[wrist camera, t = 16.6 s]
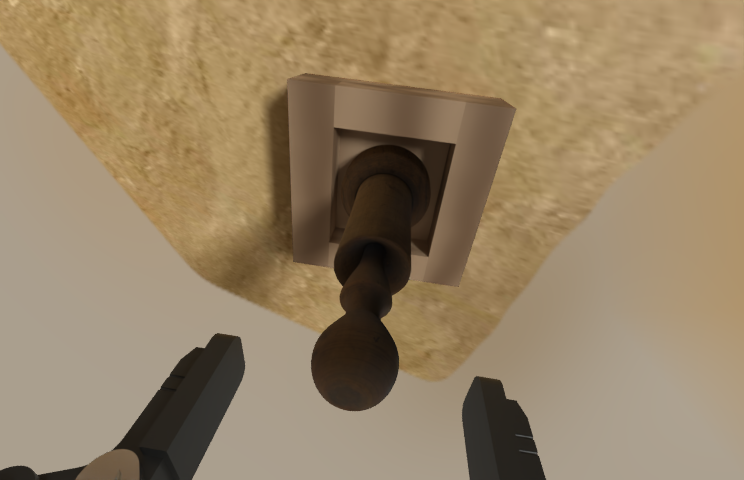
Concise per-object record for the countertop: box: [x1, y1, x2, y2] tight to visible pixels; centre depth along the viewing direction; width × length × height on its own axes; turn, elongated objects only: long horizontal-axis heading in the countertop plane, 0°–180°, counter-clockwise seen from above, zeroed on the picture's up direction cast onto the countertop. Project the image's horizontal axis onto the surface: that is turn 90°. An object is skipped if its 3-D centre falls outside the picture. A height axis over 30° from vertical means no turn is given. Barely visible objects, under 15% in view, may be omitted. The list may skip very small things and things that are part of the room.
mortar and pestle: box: [311, 145, 431, 411], centre depth 18 cm, size 7×6×18 cm
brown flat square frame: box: [287, 73, 516, 287], centre depth 25 cm, size 14×14×4 cm
